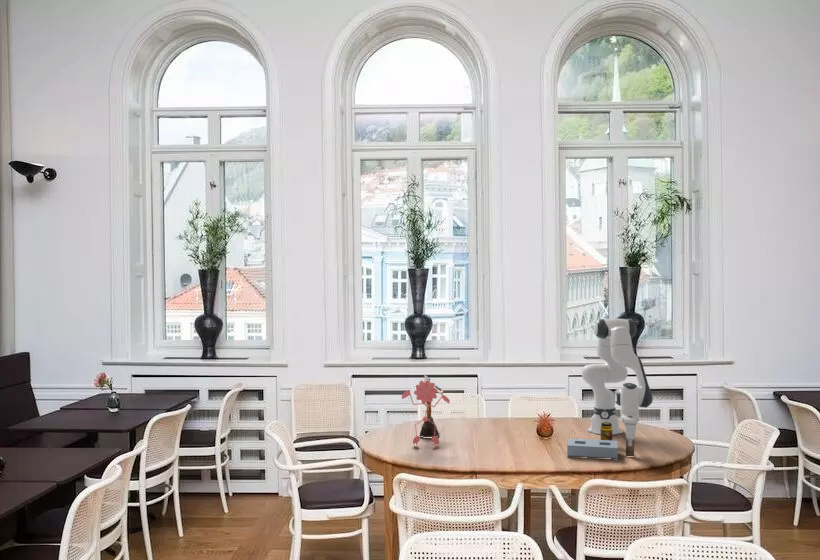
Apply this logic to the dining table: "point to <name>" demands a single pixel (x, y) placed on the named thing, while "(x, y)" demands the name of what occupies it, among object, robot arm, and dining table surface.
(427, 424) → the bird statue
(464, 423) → the dining table surface
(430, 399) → the pink flower figurine
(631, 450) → the walnut pin
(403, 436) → the dining table surface
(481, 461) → the dining table surface
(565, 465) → the dining table surface
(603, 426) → the condiment
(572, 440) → the bore block
